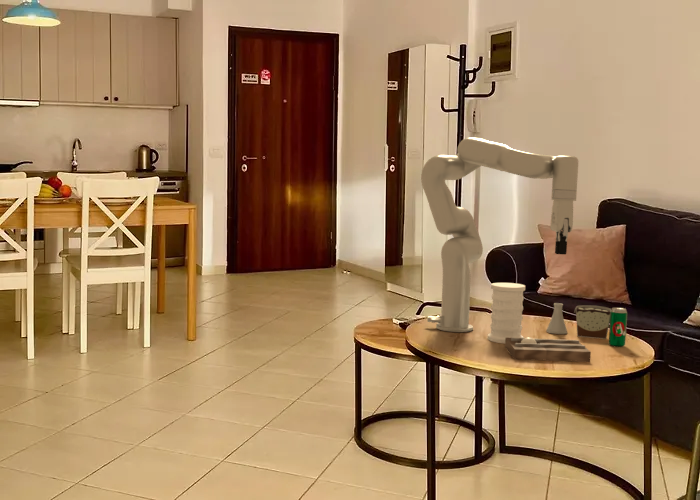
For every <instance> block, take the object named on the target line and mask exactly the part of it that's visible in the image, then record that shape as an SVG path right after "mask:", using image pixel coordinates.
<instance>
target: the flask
mask: <svg viewBox="0 0 700 500" xmlns="http://www.w3.org/2000/svg"><path fill="white" fill-rule="evenodd" d="M563 306H564V304H563V303H559V302H554V303H553V307H554V308H553V312H552V316H551V319H550V322H549V323H548V325H547V328H546V331H545V332H546V333H549V334H554V335H555V334H556V335H567V333H568V330H567V326H566V323H565V318H564V316H563Z"/></svg>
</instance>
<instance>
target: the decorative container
mask: <svg viewBox="0 0 700 500" xmlns="http://www.w3.org/2000/svg"><path fill="white" fill-rule="evenodd" d="M490 289H492V295H491V300H492V303H491V314H490V319H491V322H490V326H489V327H490V332H489V333H488V334H487V340H488V341H490V342H494V343H499V344H505V338H525V337H524V336H523V335H522V330H523V325H522V321H523V320H524V319H523V317H524V316H523V310H524V306H523V302H524V299H525V298H524V292H525V291H526V285H525V284H522V283H516V282H515V283H514V282H493V283H491V286H490Z"/></svg>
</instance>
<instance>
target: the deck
mask: <svg viewBox="0 0 700 500" xmlns="http://www.w3.org/2000/svg"><path fill="white" fill-rule="evenodd" d="M524 338H525V337H524ZM524 338H505V343H504V348H505V349H506V351H507V352H508V353H509V354H510V356H511V357H512V358H513V360H522V361H523V360H525V361H526V360H527V361H550V362H551V361H555V362H556V361H557V362H582V363H590V362H591V353H592V352H591V350H589V349H588V348H587V347H586V345H584V344H582V343H581V342H580V340H578V339H559V338H558V339H556V338H555V339H554V338H533V339H534V340H535V341H536V342H537V344H531V343H521V341H522V340H523V339H524Z"/></svg>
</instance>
